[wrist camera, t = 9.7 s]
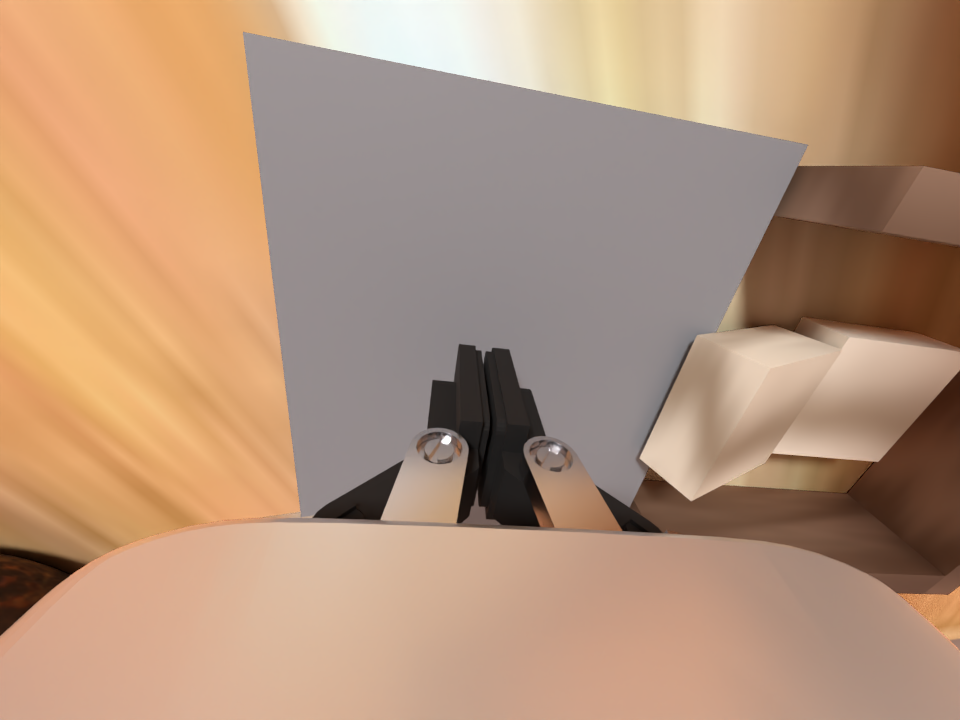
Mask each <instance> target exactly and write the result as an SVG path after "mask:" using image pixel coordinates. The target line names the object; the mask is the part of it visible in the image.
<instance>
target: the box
mask: <svg viewBox="0 0 960 720" xmlns="http://www.w3.org/2000/svg"><path fill="white" fill-rule="evenodd" d="M773 216H777V217H783V218H789V219H795V220H801V221H807V222H813V223H819V224H824V225H830V226H836V227H842V228H848V229H854V230H860V231H866V232H872V233H877V234H883V235H889V236H895V237H901V238H907V239H913V240H919V241H924V242H930V243H936V244H942V245H948V246H954V247H960V173H956V172H951V171H946V170H941V169H936V168H931V167H926V166H798V167H797V169H796V171H795V173H794V175H793V177H792V179H791V181H790V183H789V185H788V187H787V189H786V191H785V193H784V195H783V197H782V199H781V201H780V203H779V205H778V207H777V209H776V211H775V213H774V215H773ZM630 508H631V509H633V510H634V511H636V512H637V513H639V514H640V515H642V516H643V517H645V518H646V519H648V520H649V521H650V522H652V523H653V524H654V525H655V526H657V527H658V528H659V529H660V530H661V531H662V533H665V532H666V530H670V531H674V532H678V533H682V534H686V535H697V536H713V537H726V538H736V539H747V540H757V541H766V542H772V543H777V544H783V545H789V546H793V547H797V548H800V549H804V550H808V551H812V552H815V553H819V554H821V555H824V556H827V557H829V558H832V559H835V560H838V561H840V562H843V563H846V564H848V565H850V566H852V567H854V568H857V569H859V570H861V571H863V572H865V573H867V574H868V575H870V576H872V577H874V578H876V579H878V580H879V581H881V582H882V583H884V584H885V585H887V586H888V587H889V588H891V589H892V590H893V591H895V592H896V593H908V594H945V595H948V594H950V593H951V592H952V591H954V590H955V589H956V588H958V587H959V586H960V371H959V372H958V373H957V374H956V375H955V376H954V377H953V378H952V380H951V381H950V382H949V383H948V384H947V385H946V386H945V387H944V389H943V390H942V391H941V392H940V393H939V394H938V395H937V396H936V398H935V399H934V400H933V401H932V402H931V403H930V404H929V405H928V407H927V408H926V409H925V410H924V411H923V412H922V413H921V414H920V416H919V417H918V418H917V419H916V420H915V421H914V422H913V423H912V425H911V426H910V427H909V428H908V429H907V430H906V431H905V432H904V434H903V435H902V436H901V437H900V438H899V439H898V440H897V441H896V443H895V444H894V445H893V446H892V447H891V448H890V449H889V450H888V451H887V453H886V454H885V455H884V456H883V457H882V458H881V459H880V460H879V462H874V463H873V464H872V465H871V467H870V468H869V469H868V470H867V471H866V472H865V474H864V475H863V476H862V477H861V478H860V479H859V480H858V482H857V483H856V484H855V485H854V486H853V487H852V488H851V490H850V491H849V492H848V493H847V494H846V493H831V492H816V491H801V490H785V489H770V488H755V487H740V486H725V485H722V486H720V487H718V488H716V489H714V490H712V491H710V492H708V493H706V494H704V495H702V496H701V497H699V498H697V499H695V500H693V501H690V500H689V499H688V498H686V497H685V496H684V495H683V494H682V493H680V492H679V491H678V490H677V489H676V488H674V487H673V486H672V485H671V484H670V483H668V482H664V481H649V480H643V481H642V483H641V485H640V487H639V489H638V491H637V493H636V495H635V497H634V499H633V501H632V504H631V506H630Z"/></svg>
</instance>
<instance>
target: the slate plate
mask: <svg viewBox="0 0 960 720" xmlns="http://www.w3.org/2000/svg"><path fill="white" fill-rule="evenodd" d="M243 36H244V45H245V53H246V61H247V70H248V78H249V86H250V95H251V103H252V111H253V120H254V128H255V136H256V145H257V153H258V161H259V169H260V178H261V186H262V194H263V203H264V211H265V219H266V228H267V236H268V244H269V253H270V261H271V269H272V278H273V286H274V294H275V303H276V311H277V319H278V328H279V336H280V344H281V352H282V361H283V369H284V377H285V386H286V394H287V402H288V411H289V419H290V427H291V436H292V444H293V452H294V461H295V469H296V477H297V486H298V494H299V502H300V511H301V514H302V517H306V516H312V515H315V514H316V512H317V511H318V510H320V509H321V508H323V507H324V506H325V505H327V504H328V503H330V502H332V501H333V500H335V499H337V498H339V497H340V496H342V495H344V494H345V493H347V492H349V491H351V490H352V489H354V488H356V487H357V486H359V485H361V484H363V483H364V482H366V481H368V480H370V479H371V478H373V477H375V476H376V475H378V474H380V473H382V472H383V471H385V470H387V469H389V468H390V467H392V466H394V465H395V464H397V463H399V462H401V461H402V460H404V458H405V455H406V453H407V450H408V448H409V445H410V443H411V441H412V439H413V438H414V436H415V435H417V434H418V433H419V432H421V431H424V430H426V429H427V425H428V416H429V407H430V398H431V388H432V380H441V381H451V382H454V375H455V368H456V360H457V353H458V346H459V344H465V345H474V346H476V350H481V351H482V359H483V363H484V357H485V352H486V351H490V352H491V350H492V348H502V349H509V350H510V354H511V357H512V361H513V365H514V368H515V372H516V375H517V379H518V383H519V386H520V388H526V389H530V390H531V391H532V394H533V397H534V400H535V403H536V407H537V410H538V413H539V416H540V419H541V422H542V425H543V428H544V432H545V435H546V436H548V437H552V438H556V439H559V440H561V441H563V442H565V443H566V444H567V445H569V446H570V447H571V448H572V449H573V450H574V451H575V453H576V454H577V455H578V457H579V459H580V460H581V462H582V464H583V465H584V467H585V469H586V471H587V472H588V474H589V476H590V477H591V479H592V481H593V482H594V484H595V485H596V486H598V487H599V488H601V489H602V490H604V491H605V492H607V493H608V494H610V495H611V496H613V497H614V498H616V499H617V500H619V501H620V502H622V503H623V504H625V505H626V506H628V507H630V506H631V504H632V501H633V499H634V497H635V495H636V493H637V491H638V489H639V487H640V485H641V483H642V481H643V479H644V477H645V475H646V473H647V471H648V469H649V466H648V465H647V464H646V463H644V462H643V461H642V460H641V459H640V456H641V454H642V452H643V450H644V447H645V445H646V443H647V441H648V439H649V437H650V435H651V432H652V430H653V428H654V426H655V424H656V422H657V420H658V418H659V415H660V413H661V411H662V409H663V407H664V405H665V403H666V400H667V398H668V396H669V394H670V392H671V390H672V388H673V385H674V383H675V381H676V379H677V377H678V375H679V373H680V370H681V368H682V366H683V364H684V362H685V360H686V358H687V355H688V353H689V351H690V349H691V347H692V345H693V343H694V341H695V338H696V336H697V335H701V334H709V333H716V331H717V329H718V327H719V325H720V323H721V321H722V319H723V317H724V315H725V313H726V311H727V309H728V307H729V305H730V303H731V300H732V298H733V296H734V294H735V292H736V290H737V288H738V286H739V284H740V282H741V280H742V278H743V276H744V274H745V272H746V270H747V268H748V266H749V264H750V262H751V260H752V258H753V256H754V254H755V252H756V250H757V248H758V246H759V244H760V242H761V240H762V238H763V236H764V233H765V231H766V229H767V227H768V225H769V223H770V221H771V219H772V217H773V215H774V213H775V211H776V209H777V207H778V205H779V203H780V201H781V199H782V197H783V195H784V193H785V191H786V189H787V187H788V185H789V183H790V181H791V179H792V177H793V175H794V173H795V171H796V169H797V167H798V164H799V162H800V160H801V158H802V156H803V154H804V152H805V150H806V148H807V146H808V145H806V144H801V143H796V142H791V141H786V140H781V139H776V138H771V137H766V136H761V135H756V134H751V133H746V132H741V131H736V130H731V129H726V128H721V127H716V126H711V125H706V124H701V123H696V122H691V121H686V120H681V119H676V118H671V117H666V116H661V115H656V114H651V113H646V112H641V111H636V110H631V109H626V108H621V107H616V106H611V105H606V104H601V103H596V102H591V101H586V100H581V99H576V98H571V97H566V96H561V95H556V94H551V93H546V92H541V91H536V90H531V89H526V88H521V87H516V86H511V85H506V84H501V83H496V82H491V81H486V80H481V79H476V78H471V77H466V76H461V75H456V74H451V73H446V72H441V71H436V70H431V69H426V68H421V67H416V66H411V65H406V64H401V63H396V62H391V61H386V60H381V59H376V58H371V57H366V56H361V55H356V54H351V53H346V52H341V51H336V50H331V49H326V48H321V47H316V46H311V45H306V44H301V43H296V42H291V41H286V40H281V39H276V38H271V37H266V36H261V35H255V34H250V33H245V32H243ZM462 524H484V525H501V524H500V523H499V522H497V521H496V520H489V519H486V514H485V507H479V505H478V490H477V493H476V498H475V502H474V506H471V510H470V515H469V517H468V518H467V519H466V520H464V521H463V522H462Z"/></svg>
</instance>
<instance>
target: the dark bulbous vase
mask: <svg viewBox="0 0 960 720" xmlns="http://www.w3.org/2000/svg"><path fill="white" fill-rule="evenodd" d="M69 576H70V575H69V574H67V573H64V572H62V571H60V570H58V569H55V568H52V567H50V566H48V565H44V564H41V563H37V562H34V561H31V560H27V559H24V558H19V557H15V556H10V555H3V554H0V636H1V635H2V634H3V633H4V632H5V631H6V630H7V629H9V628H10V627H11V626H12V625H13V624H14V623H15V622H16V621H17V620H18V619H19V618H21V617H22V616H23V615H24V614H25V613H26V612H27V611H28V610H29V609H30V608H31V607H32V606H34V605H35V604H36V603H37V602H38V601H39V600H40V599H42V598H43V597H44V596H45V595H46V594H48V593H49V592H50V591H51V590H52V589H53V588H55V587H56V586H57V585H59V584H60V583H61V582H63V581H64V580H65V579H66V578H68V577H69Z"/></svg>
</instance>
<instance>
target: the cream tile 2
mask: <svg viewBox="0 0 960 720" xmlns="http://www.w3.org/2000/svg"><path fill="white" fill-rule="evenodd" d="M794 332H795V333H798V334H800V335H803V336H806V337H809V338H811V339H814V340H817V341H820V342H822V343H825V344H828V345H830V346H833V347H836V348H839V349H841V350H842V352H841V353H840V355H839V356H838V358H837V359H836V360H835V362H834V363H833V365H832V366H831V368H830V369H829V371H828V372H827V374H826V375H825V376H824V378H823V379H822V381H821V382H820V384H819V385H818V387H817V388H816V390H815V391H814V392H813V394H812V395H811V397H810V398H809V400H808V401H807V403H806V404H805V406H804V407H803V409H802V410H801V411H800V413H799V414H798V416H797V417H796V419H795V420H794V422H793V423H792V425H791V426H790V427H789V429H788V430H787V432H786V433H785V435H784V436H783V438H782V439H781V441H780V442H779V443H778V445H777V446H776V448H775V449H774V451H773V452H772V453H775V454H787V455H799V456H812V457H824V458H836V459H848V460H861V461H873V462H879V460H880V459H881V458H882V457H883V456H884V455H885V454H886V453H887V451H888V450H889V449H890V448H891V447H892V446H893V445H894V444H895V443H896V441H897V440H898V439H899V438H900V437H901V436H902V435H903V434H904V432H905V431H906V430H907V429H908V428H909V427H910V426H911V425H912V423H913V422H914V421H915V420H916V419H917V418H918V417H919V416H920V414H921V413H922V412H923V411H924V410H925V409H926V408H927V407H928V405H929V404H930V403H931V402H932V401H933V400H934V399H935V398H936V396H937V395H938V394H939V393H940V392H941V391H942V390H943V389H944V387H945V386H946V385H947V384H948V383H949V382H950V381H951V380H952V378H953V377H954V376H955V375H956V374H957V373H958V372H959V371H960V348H958V347H955V346H952V345H950V344H947V343H944V342H941V341H938V340H936V339H933V338H930V337H927V336H925V335H922V334H919V333H916V332H910V331H903V330H895V329H888V328H881V327H873V326H866V325H859V324H851V323H844V322H837V321H830V320H822V319H815V318H808V317H802V319H801V320H800V322H799V324H798V325H797V327H796V329H795V330H794Z"/></svg>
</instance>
